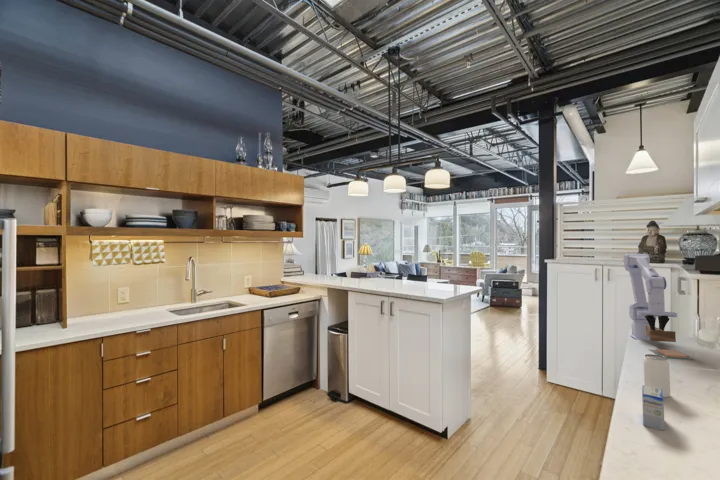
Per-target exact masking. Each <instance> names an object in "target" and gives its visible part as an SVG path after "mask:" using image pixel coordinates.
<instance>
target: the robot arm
mask: <svg viewBox="0 0 720 480" xmlns="http://www.w3.org/2000/svg"><path fill="white" fill-rule="evenodd" d="M650 259H651V257H650V255H649V254H648V253H625V254H624V255H623V263H624V264H623V265H624V269H625V271H627V272H628V273H629V276H630V283H631V287H632V291H633V299H634V302H633V303H632V304H630V305H629V307H628V308H629V318H630V319H631V320H632V323H631V334H629V336H630V337H631V338H633V339H635V340H637V341H651V340H650V336H648V335H646V326H650V328H651V330H655V327H656V321H657V320H658V328H659V329H661V330H664V331H665V329H666V325H667V324H668V322H669V321H670V318H678V313H677V312H673V311H665V310H666V309H665V305H666V304H665V290H666V289H667V286H668V285H667V283H668V282H667V280H666V277H665V276H662V275H661V276H660V274H659V273H658V272H657V271H656V269H655V268H653V267H651V265H650V262H651V260H650ZM643 279H644V280H645V285H644V280H643ZM645 288H646V289H645ZM645 291H646V292H647V296H646V292H645Z"/></svg>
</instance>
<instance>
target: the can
mask: <svg viewBox="0 0 720 480" xmlns="http://www.w3.org/2000/svg"><path fill="white" fill-rule="evenodd" d="M642 365H643V369H642V370H643V385H646V386H652V387H656V388H660V389H662V391H663V399H664V398H669V397H671V380H670V379H671V377H670V373H671V372H670V363H669V361H668V358H666V357H663V356H659V355H656V354H652V353H651V354H650V353H649V354H647V353H646V354H645V355H644V358H643V362H642Z"/></svg>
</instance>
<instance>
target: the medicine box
mask: <svg viewBox="0 0 720 480" xmlns="http://www.w3.org/2000/svg"><path fill="white" fill-rule="evenodd" d="M641 392H642V393H641V394H642V395H641V396H642V397H641V398H642V400H641V401H642V425H643V426H644V427H648V428H652V429H656V430H659V431H665V399H664V398H663V391H662V389H660V388H656V387H652V386H646V385H644V384H643V385H642V391H641Z"/></svg>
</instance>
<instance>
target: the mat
mask: <svg viewBox="0 0 720 480" xmlns="http://www.w3.org/2000/svg"><path fill="white" fill-rule="evenodd" d="M648 351H650V352H652V353H654V355H659V356H663V355H661V354H660V353H658V352H657V349H651V348H649V349H648ZM677 351H678V352H680V353H682V354H684V355H686V356H687V359H682V358H668V357H666V358H667V359H668V360H669V359H671V360H684V361H685V360H687V361H696V358H693V357H691V356H689V355H687V354H685V353H684V352H682V351H679V350H677ZM663 357H665V356H663Z"/></svg>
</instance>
